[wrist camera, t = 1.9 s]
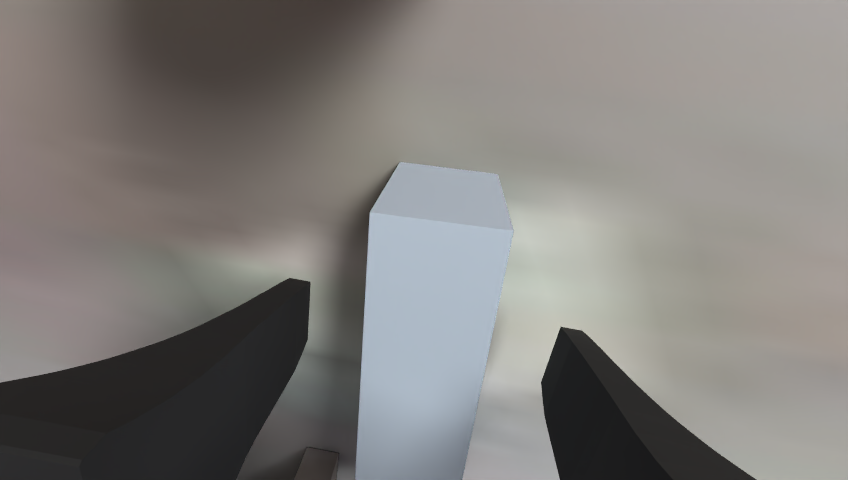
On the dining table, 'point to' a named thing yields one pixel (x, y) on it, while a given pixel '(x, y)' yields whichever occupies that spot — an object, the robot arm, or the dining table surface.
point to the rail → (428, 319)
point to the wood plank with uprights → (318, 465)
